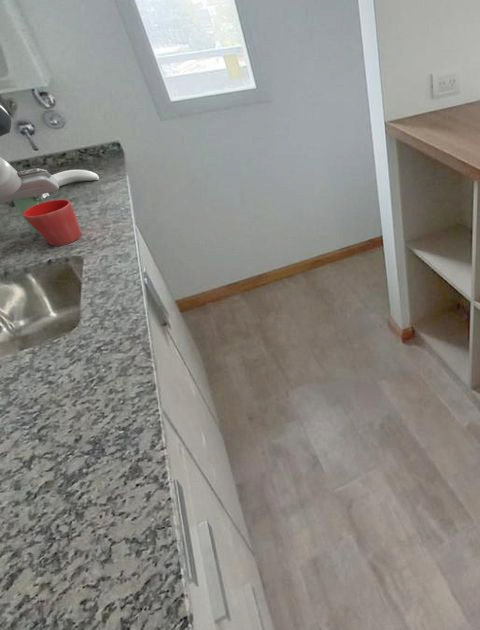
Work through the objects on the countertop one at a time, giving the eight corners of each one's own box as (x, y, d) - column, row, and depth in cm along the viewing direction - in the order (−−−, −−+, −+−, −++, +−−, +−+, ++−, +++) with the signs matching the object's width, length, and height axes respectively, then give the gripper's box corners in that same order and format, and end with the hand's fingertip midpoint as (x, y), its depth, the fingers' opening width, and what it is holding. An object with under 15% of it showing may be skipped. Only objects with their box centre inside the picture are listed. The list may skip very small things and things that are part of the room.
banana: (101, 175, 168) (96, 188, 157) (45, 189, 163) (36, 203, 152) (93, 162, 165) (88, 174, 154) (36, 176, 160) (27, 189, 149)
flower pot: (88, 240, 123) (68, 208, 117) (42, 252, 119) (19, 219, 113) (89, 227, 130) (70, 195, 124) (45, 238, 126) (24, 206, 120)
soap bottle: (31, 233, 126) (-4, 183, 117) (32, 227, 130) (-1, 177, 121) (52, 228, 128) (19, 178, 119) (53, 222, 132) (21, 172, 123)
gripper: (40, 157, 116) (64, 182, 129) (-57, 176, 108) (-22, 201, 121) (48, 178, 115) (71, 201, 128) (-48, 199, 108) (-14, 221, 121)
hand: (25, 201), depth 125 cm, fingers closed on soap bottle, 5 cm apart
